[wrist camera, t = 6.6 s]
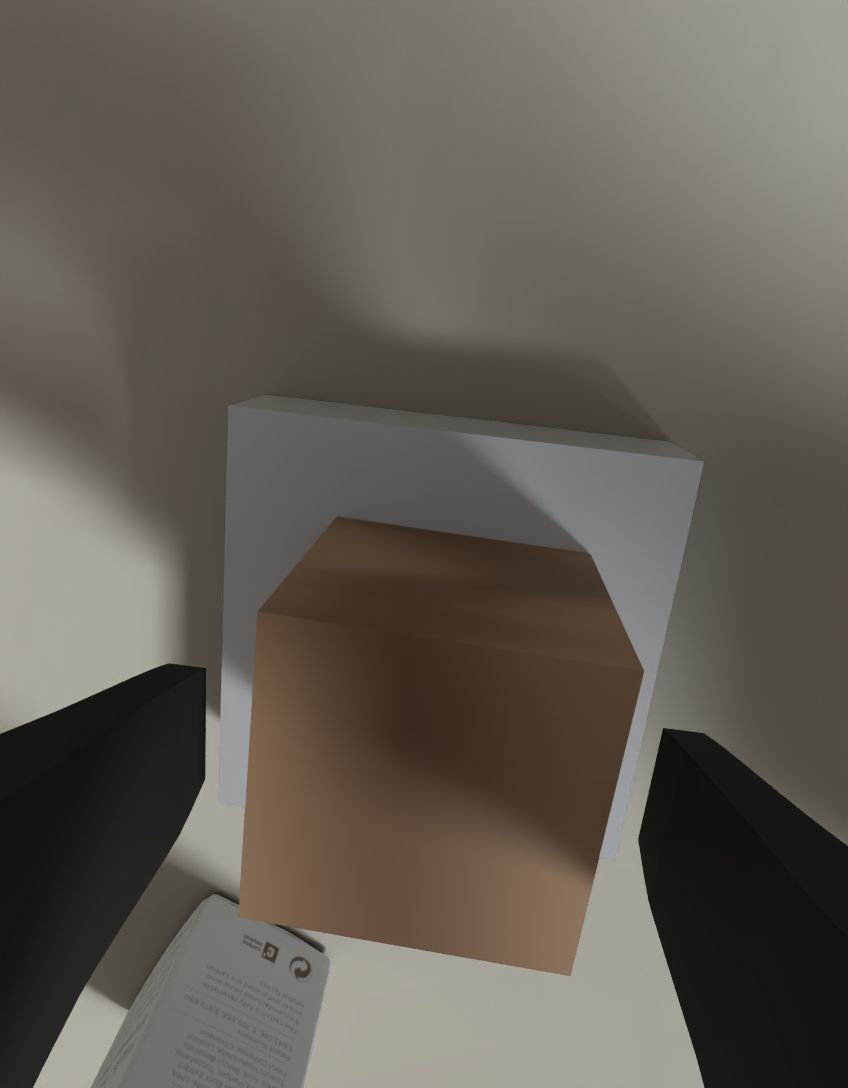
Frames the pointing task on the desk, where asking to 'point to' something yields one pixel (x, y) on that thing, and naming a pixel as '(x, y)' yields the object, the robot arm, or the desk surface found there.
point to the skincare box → (222, 1008)
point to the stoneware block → (445, 522)
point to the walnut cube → (435, 743)
